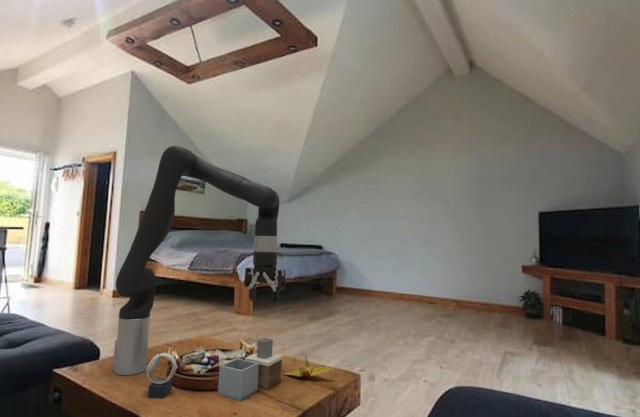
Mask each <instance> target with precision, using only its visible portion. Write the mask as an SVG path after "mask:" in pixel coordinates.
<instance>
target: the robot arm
mask: <svg viewBox="0 0 640 417" xmlns="http://www.w3.org/2000/svg"><path fill="white" fill-rule="evenodd" d="M182 177H188V178H192V179H196V180H199V181H202V182H205V183H206V184H208V185H211V186H213V187H214V188H216V189H218V190H219V191H222V192H223V193H226V194H227V195H230V196H232V197H234V198H236V199H240V200H243V201H245V202H247V203H249V204H250V205H253V206H255V207H257V210H258V211H257V218H256V220H255V223H254V239H253V254H252V256H253V259H252V265H253V267H246V268H245V270H244V282H243V283H244V284H243V286H244V288H245V287H247V288H248V290H249V291H248V293H249V294H248V295H249V296H248V298H249V302H254V301H256V300H257V287H258V286H259V285H260V284H261V283H263V284H268V286H270V287H271V289H272V294H271V296H272V297H271V298H272V299H271V301H272V302H271V303H272V305H273V304H274V305H275V304H276V305H277V304H278V302H280V292H281V291H283V290H285V289H286V270H284V269H277V265H278V218H279V210H280V196H279V194H278V193H277V191H275V190H274V189H273V188H270V187H269V186H266V185H263V184H260V183H258V182H255V181H252V180H251V179H249V178H248V177H244V176H242V175H240V174H238V173H235V172H232V171H229V170H227V169H224V168H221V167H219V166H216V165H214V164H211V163H209V162H208V161H205V160H204V159H203V158H201V157H200V156H198V155H197V154H195V153H194V152H192V151H191V150H190V149H187V148H185V147H183V146H181V145H171V146H168V147H167V148H166V149H165V150H164V151H163V152H162V154H161V157H160V159H159V164H158V168H157V173H156V177H155V181H154V184H153V187H152V190H151V192H150V194H149V197H148V200H147V204H146V206H145V208H144V211H143V212H142V213H143V214H142V216H141V219H140V222H139V225H138V228H137V230H136V234H135V236H134V239H133V241H132V243H131V246H130V248H129V251H128V254H127V256H126V257H125V260H124V262H123V263H122V266H121V267H120V269H119V272H118V274H117V276H116V279H115V288H116V291H117V293H118V295H119V296H120V297H123V298H129V299H128V300H127V301H126V303H125V304H124V305H123V306H121V307H120V309H119V312H118V322H117V337H116V340H115V341H114V347H113V348H114V349H113V350H114V351H113V365H112V371H114V373H115V375H121V376H132V375H137V374H141V373H143V372H145V371H147V370H146V368H147V359H148V347H149V345H148V344H149V332H150V320H151V319H150V318H151V311H152V308H153V306H154V302H155V293H156V286H157V278H156V274H155V272H154V270H153V269H152V268H151V267H148V266H147V263H148V261H149V259H150V258H151V256H152V255H153V253H154V252H155V251H156V250H157V249H158V248H159V247H160V245H162V243H163V242H164V241H165V240H166V238H167V237H168V234H169V233H170V230H171V227H172V225H173V222H174V218H175V212H176V211H175V210H176V193H177V189H178V185H179V183H180V181H181V179H182ZM253 275H254V276H253ZM276 277H277V278H276Z"/></svg>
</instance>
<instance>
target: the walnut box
mask: <svg viewBox="0 0 640 417" xmlns="http://www.w3.org/2000/svg"><path fill="white" fill-rule="evenodd" d="M282 363H283V359H281V360H280V361H278V362H276V363H274V364H272V365H270V366H265V365H260V364H259V370H258V389H262V390H264V391H265V390H266V391H268V390H270V389H271V388H272V387H274V386H276V385H277V384H279V383H281V381H282V369H283V368H282V367H283V366H282V365H283V364H282Z"/></svg>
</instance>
